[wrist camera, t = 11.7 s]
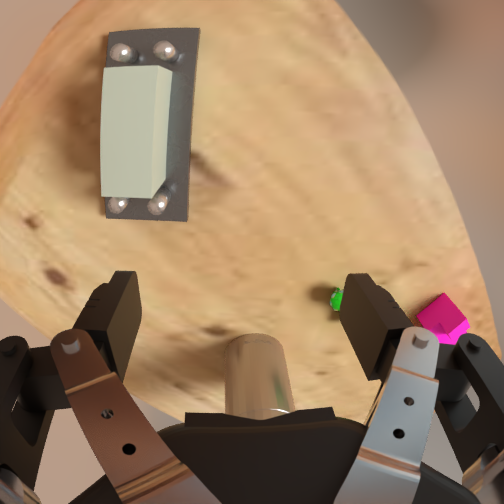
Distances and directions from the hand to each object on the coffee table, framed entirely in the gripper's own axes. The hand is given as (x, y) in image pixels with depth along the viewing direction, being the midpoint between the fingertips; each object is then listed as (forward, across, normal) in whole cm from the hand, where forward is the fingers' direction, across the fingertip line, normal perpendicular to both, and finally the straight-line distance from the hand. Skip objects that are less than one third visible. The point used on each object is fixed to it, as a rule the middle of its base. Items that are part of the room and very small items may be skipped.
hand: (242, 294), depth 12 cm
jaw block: (+25, +9, -5) cm, 27 cm away
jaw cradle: (+26, +9, -5) cm, 28 cm away
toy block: (+27, -38, +25) cm, 53 cm away
